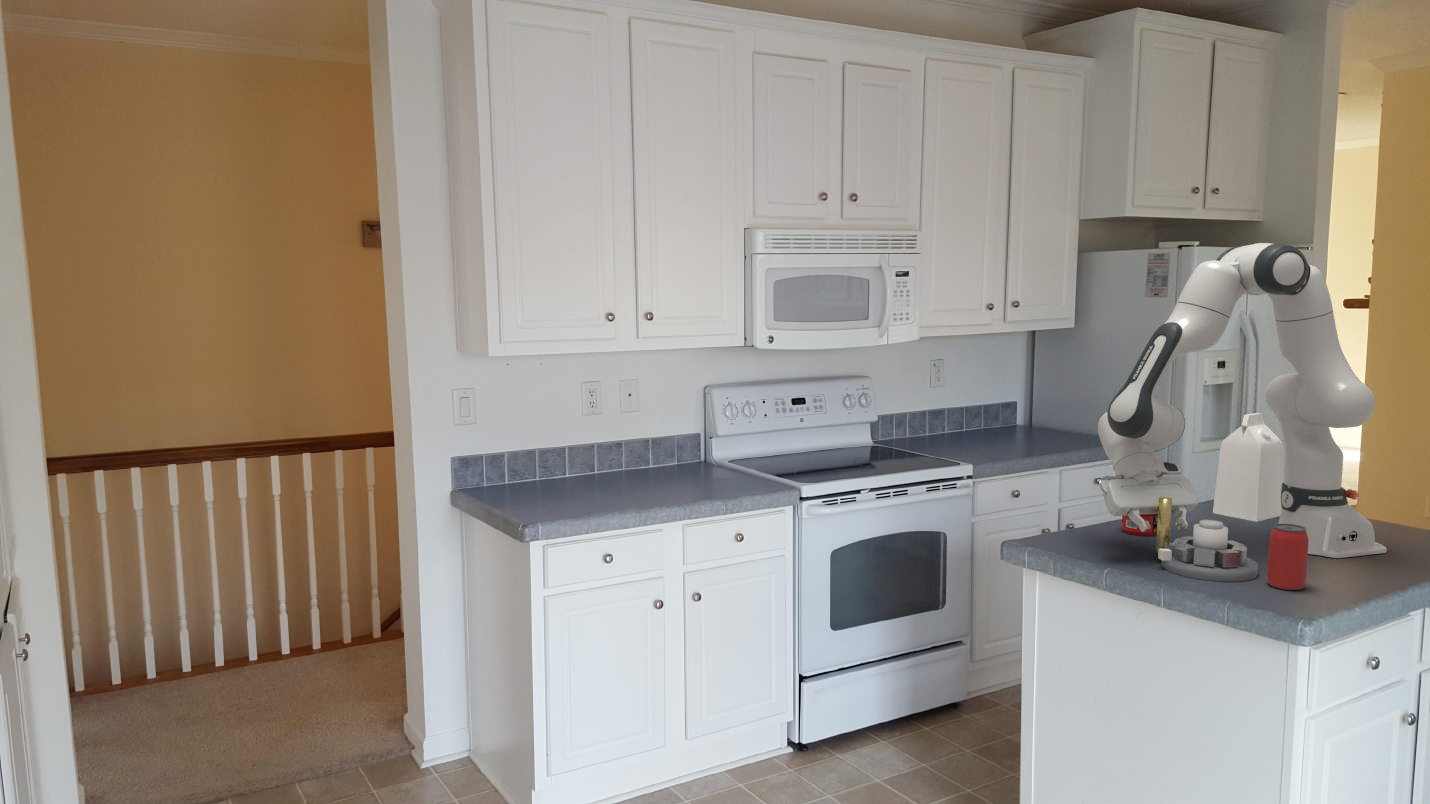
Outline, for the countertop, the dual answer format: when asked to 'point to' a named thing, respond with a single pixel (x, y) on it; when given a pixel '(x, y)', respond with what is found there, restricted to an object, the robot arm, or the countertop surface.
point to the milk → (1250, 472)
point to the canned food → (1134, 529)
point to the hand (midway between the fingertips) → (1165, 529)
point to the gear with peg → (1187, 551)
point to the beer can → (1288, 557)
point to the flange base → (1213, 571)
